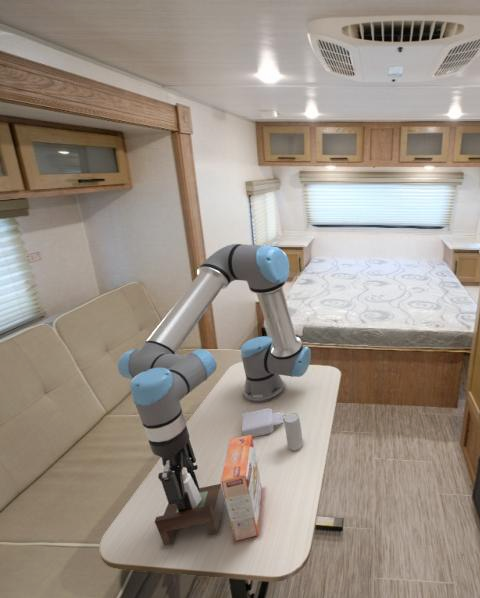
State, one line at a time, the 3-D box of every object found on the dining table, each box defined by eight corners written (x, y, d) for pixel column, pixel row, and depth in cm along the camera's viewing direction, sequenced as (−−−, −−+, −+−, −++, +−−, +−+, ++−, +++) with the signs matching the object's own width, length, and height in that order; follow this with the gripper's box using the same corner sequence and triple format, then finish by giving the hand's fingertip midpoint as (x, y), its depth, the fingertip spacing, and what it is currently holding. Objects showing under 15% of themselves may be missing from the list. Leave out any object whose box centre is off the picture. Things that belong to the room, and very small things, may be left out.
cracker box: (260, 535, 87) (247, 475, 79) (234, 542, 85) (218, 482, 77) (264, 488, 99) (252, 432, 91) (241, 493, 98) (228, 437, 90)
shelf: (177, 509, 93) (169, 485, 90) (224, 498, 96) (218, 475, 93) (164, 546, 84) (154, 521, 81) (217, 533, 87) (209, 509, 84)
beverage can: (298, 452, 112) (294, 423, 107) (285, 450, 112) (280, 421, 108) (305, 441, 116) (301, 413, 111) (292, 439, 117) (288, 411, 112)
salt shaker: (203, 490, 91) (194, 459, 87) (200, 508, 86) (190, 476, 82) (180, 496, 89) (169, 465, 85) (175, 515, 84) (164, 483, 80)
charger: (289, 430, 121) (243, 440, 116) (288, 413, 129) (245, 422, 124) (288, 419, 119) (241, 429, 114) (287, 403, 127) (243, 412, 122)
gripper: (163, 408, 86) (185, 475, 95) (130, 467, 70) (160, 541, 78) (196, 403, 88) (214, 469, 97) (172, 459, 71) (196, 533, 80)
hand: (190, 501), depth 88 cm, fingers closed on salt shaker, 5 cm apart
